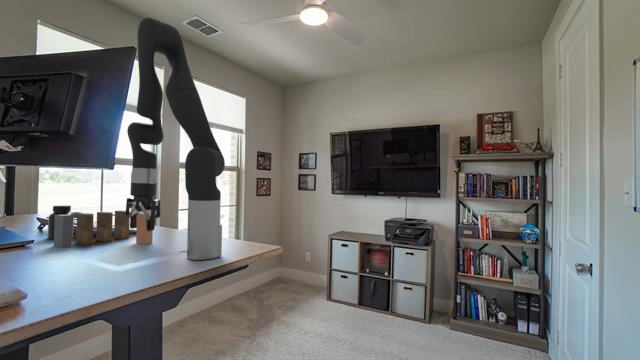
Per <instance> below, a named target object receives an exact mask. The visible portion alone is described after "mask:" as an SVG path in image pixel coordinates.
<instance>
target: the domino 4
mask: <svg viewBox="0 0 640 360" xmlns="http://www.w3.org/2000/svg"><path fill="white" fill-rule="evenodd" d="M150 216H151V214H150ZM147 220H148V219H147V216H146V215H145V214H144V213H143V212H140V213H139V214H137V226H136V228H135V231H136V233H135V235H136V237H135V244H139V245H151V244H153V238H154V237H153V236H154V235H153V233H154V230H153V231H147Z"/></svg>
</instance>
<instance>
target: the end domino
mask: <svg viewBox="0 0 640 360" xmlns="http://www.w3.org/2000/svg"><path fill="white" fill-rule="evenodd" d="M72 239H73V237H72V215H55V223H54V240H53V247H56V248H60V249H65V248H71V247H72Z"/></svg>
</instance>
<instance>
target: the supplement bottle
mask: <svg viewBox="0 0 640 360" xmlns="http://www.w3.org/2000/svg"><path fill="white" fill-rule="evenodd" d="M71 211H72V205H53V206H52V213H51V214H49V216H48V220H47V240H51V241H54V223H55V215H72V238H74V226H75V225H74V222H75V215H74V214H73V213H71Z"/></svg>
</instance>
